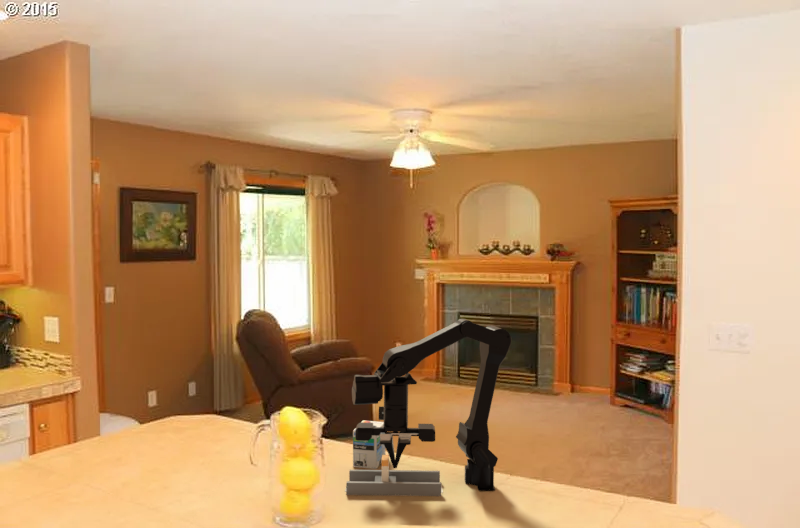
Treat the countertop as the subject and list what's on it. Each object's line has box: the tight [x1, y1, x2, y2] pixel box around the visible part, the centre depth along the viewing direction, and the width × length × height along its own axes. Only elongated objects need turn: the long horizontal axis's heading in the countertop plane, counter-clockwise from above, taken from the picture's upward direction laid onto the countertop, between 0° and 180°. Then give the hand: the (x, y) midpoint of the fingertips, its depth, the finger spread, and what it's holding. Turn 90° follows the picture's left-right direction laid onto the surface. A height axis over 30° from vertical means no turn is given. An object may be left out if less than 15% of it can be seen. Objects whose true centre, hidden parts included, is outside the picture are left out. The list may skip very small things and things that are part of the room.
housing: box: [344, 469, 444, 497], centre depth 161 cm, size 24×16×4 cm, turn 89°
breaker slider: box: [375, 454, 396, 482], centre depth 161 cm, size 5×6×7 cm
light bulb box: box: [352, 419, 387, 470], centre depth 180 cm, size 11×7×11 cm, turn 168°
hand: (395, 467), depth 161 cm, fingers closed
